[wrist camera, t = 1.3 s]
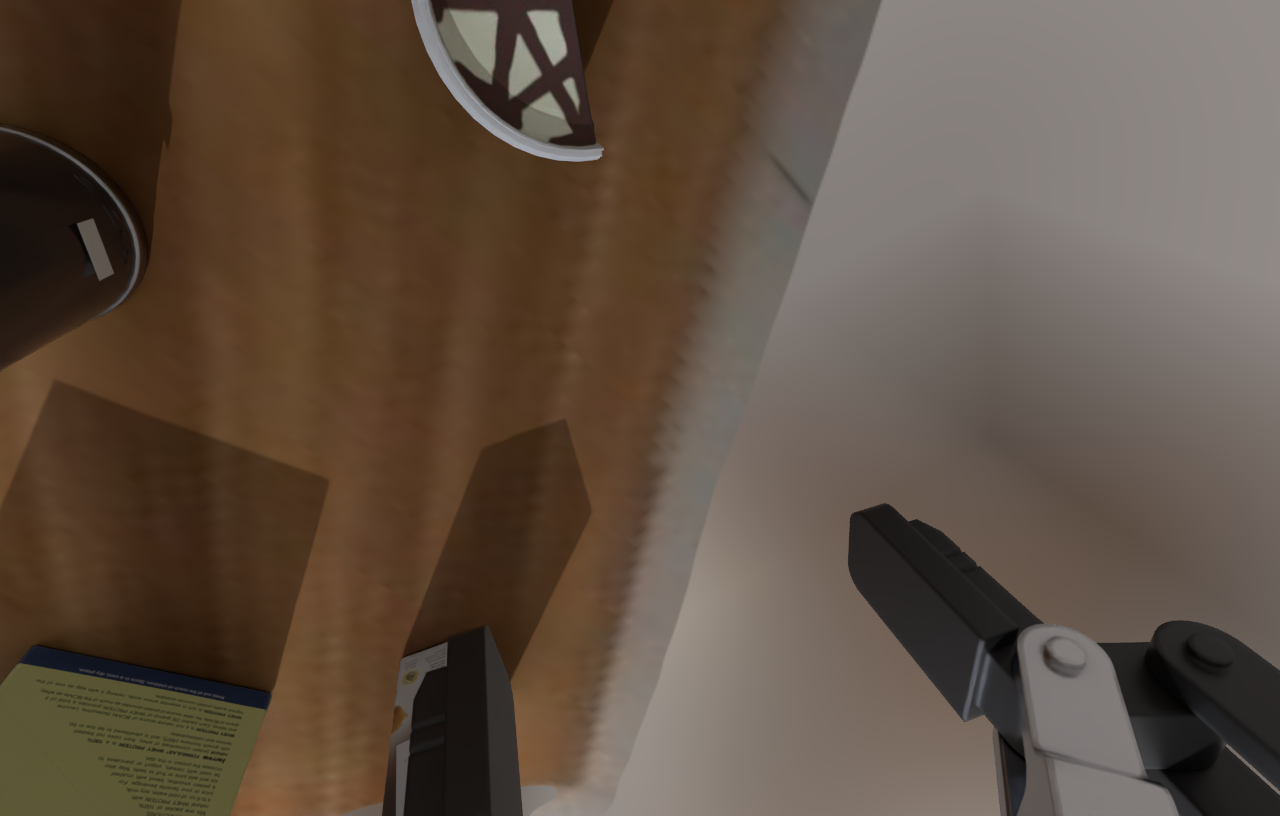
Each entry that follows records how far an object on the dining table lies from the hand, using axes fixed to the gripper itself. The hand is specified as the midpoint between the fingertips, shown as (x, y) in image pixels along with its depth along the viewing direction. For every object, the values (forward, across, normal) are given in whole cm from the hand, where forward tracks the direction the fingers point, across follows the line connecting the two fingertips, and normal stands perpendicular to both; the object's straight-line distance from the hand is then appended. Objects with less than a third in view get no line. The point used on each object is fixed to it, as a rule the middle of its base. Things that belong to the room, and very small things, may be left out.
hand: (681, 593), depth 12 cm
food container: (+28, 0, -13) cm, 31 cm away
